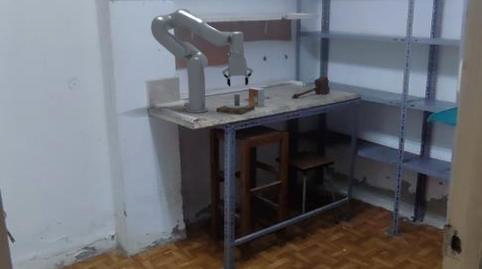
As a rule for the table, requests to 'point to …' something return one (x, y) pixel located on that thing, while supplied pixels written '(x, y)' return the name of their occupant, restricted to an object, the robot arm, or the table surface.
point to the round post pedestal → (236, 103)
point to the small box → (256, 97)
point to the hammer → (317, 87)
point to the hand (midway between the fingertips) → (237, 85)
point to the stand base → (235, 111)
